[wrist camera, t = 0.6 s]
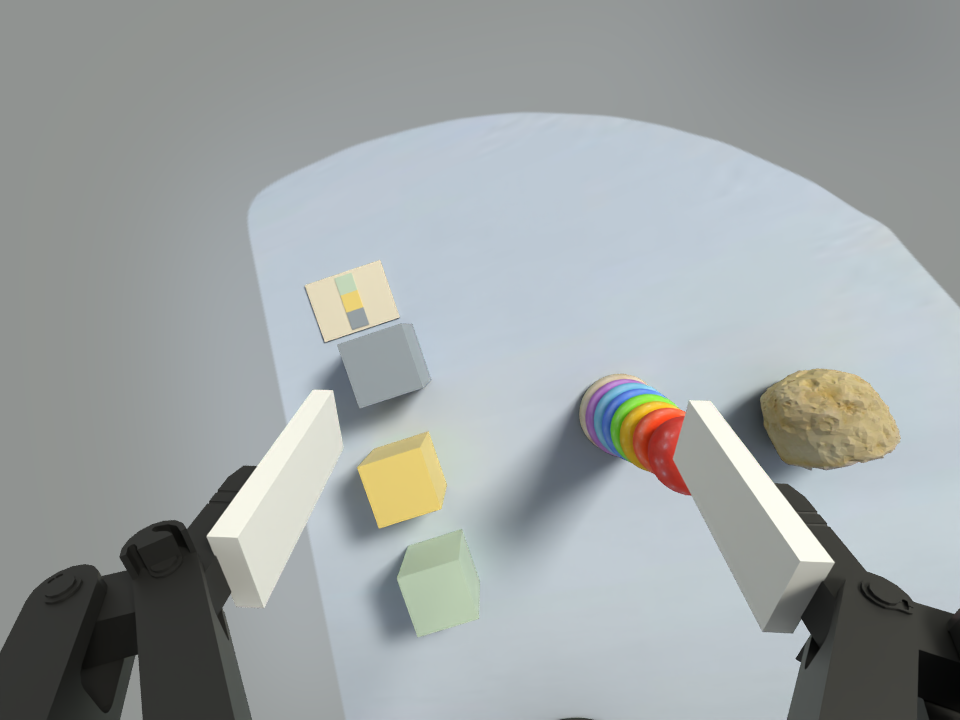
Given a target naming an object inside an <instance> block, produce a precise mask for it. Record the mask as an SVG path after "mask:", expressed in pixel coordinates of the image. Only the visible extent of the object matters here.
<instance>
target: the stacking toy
mask: <svg viewBox="0 0 960 720" xmlns="http://www.w3.org/2000/svg"><path fill="white" fill-rule="evenodd" d="M685 413H686V412H684V411H682V410H680V409H679V408H678V407H677V406H676V405H675V404H674V403H673V402H671V401H670V400H668V399H667V398H666V397H665V396H664V395H662V394H661V393H659V392H658V391H657V390H655V389H654V388H652V387H650V386H649V385H648V384H646V383H645V382H644V381H642V380H641V379H639V378H637V377H635V376H632V375H627V374H613V375H609V376H606V377H603V378H601V379H599V380H598V381H596V382H595V383H594V384H593V385H592V386H591V387H590V388H589V389H588V390H587V391H586V393H585V395H584V397H583V399H582V401H581V405H580V411H579V417H580V423H581V426H582V429H583V431H584V433H585V435H586V436H587V437H588V439H589V440H590V441H591V442H592V443H593V444H594V445H596V446H597V447H599V448H600V449H602V450H603V451H605V452H606V453H608V454H611V455H614V456H618V457H621V458H622V459H624V460H627V461H629V462H631V463H633V464H634V465H635V466H637V467H639V468H641V469H643V470H646V471H649V472H651V473H653V474H655V475H656V477H657V478H658V479H659V480H660V481H661V482H662V483H663V484H664V485H665V486H667V487H668V488H670V489H671V490H673V491H675V492H678V493H681V494H684V495H691V493H690V491H689V489H688V488H687V486H686V484H685V482H684V480H683V478H682V476H681V474H680V472H679V470H678V468H677V466H676V464H675V463H674V461H673V456H674V453H675V449H676V445H677V442H678V438H679V435H680V431H681V428H682V424H683V420H684V417H685ZM691 496H692V495H691Z"/></svg>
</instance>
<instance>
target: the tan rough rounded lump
mask: <svg viewBox="0 0 960 720" xmlns="http://www.w3.org/2000/svg"><path fill="white" fill-rule="evenodd" d="M760 403H761V409H762V413H763V418H764V427H765V429H766V430H767V433H768V435H769V437H770V439H771V441H772V443H773V445H774V446H775V449H776V450H777V453H778V455H779V456H780V458H781V460H782V461H784V462H785V463H786V464H788V465H794V466H799V467H804V468H806V469H809V470H812V468H819V469H823V470H830V469H836V468H841V467H846V466H850V465H853V464H855V463H857V462H861V463H865V462H868V461H871V460H875V459H880V458H884V455H886V454H887V453H891V452H892V451H893V450H894V449H895V447H896V445H897V444H898V443H900V439H901V438H900V435H899V430H898V428H897V426H896V422H895V420H894V419H893V416H892V415H891V414H890V412H889V407H888V406H887V405H886V404H885V403H884V401H883V400H882V399H881V398H880V396H879V394H878V393H877V392H876V391H875V390H874V389H873V388H872V387H871V385H870V383H868V382H866V381H864V380H863V379H861V377H859V376H857V375H854V374H850V373H846V372H841V371H837V370H828V369H811V370H803V371H800V370H799V371H797V372H795V373H793V374H791V375H788V376H787V377H786V378H784V379H783V380H781V381H780V382H777V383H775V384H774V385H773V386H771V387H770V388H767V391H766V392H765V393H764V394H763V395H762V396H761V398H760Z"/></svg>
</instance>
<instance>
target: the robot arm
mask: <svg viewBox="0 0 960 720" xmlns="http://www.w3.org/2000/svg"><path fill="white" fill-rule="evenodd" d="M343 448H344V447H343V442H342V436H341V431H340V425H339V420H338V414H337V409H336V403H335V398H334V393H333V390H312V392H311V393H310V394H309V396H308V397H307V399H306V400H305V401H304V403H303V404H302V405H301V407H300V408H299V410H298V411H297V412H296V414H295V415H294V416H293V418H292V419H291V421H290V422H289V423H288V425H287V426H286V427H285V429H284V430H283V432H282V433H281V434H280V436H279V437H278V439H277V440H276V441H275V443H274V444H273V446H272V447H271V448H270V449H269V451H268V452H267V454H266V455H265V456H264V458H263V459H262V461H261V462H260V463H259V465H258V466H243V467H241V468H240V469H239V470H237V471H236V472H235V473H233V474H232V475H230V476H229V477H228V478H227V479H226V481H225V482H224V483H223V484H222V486H221V487H220V488H219V489H218V493H215V495H214V496H213V497H212V498H211V500H210V501H209V504H207V505H206V506H205V507H204V509H203V510H202V511H201V512H200V514H199V515H198V516H197V517H196V519H195V520H194V521H193V522H192V524H191V525H190V526H189V528H188V529H186V527H185V526H184V524H183V523H181V522H179V521H176V520H171V521H162V522H159V523H155V524H152V525H150V526H148V527H146V528H144V529H142V530H140V531H139V532H137V534H135V535H134V536H133V537H131V538H130V539H129V540H128V541H127V542H126V544H125V545H124V546H123V548H122V550H121V553H120V559H121V561H122V562H123V564H124V566H125V568H126V569H127V571H122V572H118V573H113V574H110V575H105V576H101V575H100V573H99V571H98V570H97V569H96V568H95V567H94V566H92V565H86V564H84V565H78V566H72V567H70V568H67V569H65V570H62V571H60V572H58V573H56V574H54V575H53V576H51V577H49V578H48V579H46V580H45V581H44V582H43V583H41V584H40V585H39V586H38V587H37V588H36V589H34V590H33V592H32V593H31V594H30V596H29V597H28V599H27V600H26V602H25V604H24V606H23V608H22V610H21V612H20V614H19V616H18V618H17V620H16V622H15V624H14V626H13V628H12V630H11V632H10V634H9V636H8V638H7V640H6V642H5V644H4V646H3V648H2V650H1V652H0V720H120V717H121V713H122V709H123V704H124V700H125V695H126V692H127V688H128V684H129V680H130V675H131V671H132V667H133V663H134V659H135V655H138V658H139V671H140V686H141V700H142V714H143V720H252V718H251V714H250V710H249V706H248V702H247V698H246V694H245V691H244V687H243V683H242V679H241V675H240V671H239V667H238V663H237V659H236V656H235V651H234V647H233V644H232V639H231V636H230V632H229V628H228V624H227V620H226V616H225V613H224V611H223V609H222V607H223V606H224V604H225V602H226V600H227V599H228V597H229V595H230V594H231V595H232V598H233V600H234V603H235V605H236V607H251V608H264V607H265V605H266V603H267V601H268V599H269V597H270V595H271V593H272V591H273V589H274V587H275V585H276V583H277V581H278V579H279V577H280V575H281V573H282V571H283V569H284V567H285V565H286V563H287V561H288V559H289V557H290V555H291V553H292V551H293V549H294V547H295V545H296V543H297V541H298V539H299V537H300V535H301V533H302V531H303V529H304V527H305V525H306V523H307V521H308V519H309V517H310V515H311V513H312V511H313V509H314V507H315V505H316V503H317V501H318V499H319V497H320V495H321V493H322V491H323V489H324V487H325V485H326V482H327V480H328V478H329V476H330V474H331V472H332V470H333V468H334V466H335V464H336V462H337V460H338V458H339V456H340V454H341V452H342V450H343ZM673 461H674V463H675V464H676V466H677V468H678V470H679V472H680V474H681V476H682V478H683V480H684V482H685V484H686V486H687V488H688V489H689V491H690V493H691V495H692V497H693V499H694V501H695V503H696V505H697V507H698V509H699V511H700V513H701V515H702V516H703V518H704V520H705V522H706V524H707V526H708V528H709V530H710V532H711V534H712V536H713V538H714V540H715V541H716V543H717V545H718V547H719V549H720V551H721V553H722V555H723V557H724V559H725V561H726V563H727V565H728V567H729V568H730V570H731V572H732V574H733V576H734V578H735V580H736V582H737V584H738V586H739V588H740V590H741V592H742V593H743V595H744V597H745V599H746V601H747V603H748V605H749V607H750V609H751V611H752V613H753V615H754V617H755V619H756V620H757V622H758V624H759V626H760V628H761V630H762V632H775V633H793V632H794V631H795V629H796V627H797V626H798V624H799V622H800V620H801V619H802V621H803V622H804V624H805V625H806V627H807V629H808V630H809V632H810V634H811V635H810V637H809V638H808V640H807V641H806V643H805V645H804V646H803V648H802V649H801V651H800V652H799V654H798V656H797V657H796V660H798V661H800V662H801V665H800V669H799V673H798V677H797V681H796V685H795V689H794V693H793V697H792V701H791V705H790V709H789V713H788V717H787V720H960V609H959V610H958V611H957V612H956V613H955V614H952V613H949V612H946V611H942V610H939V609H935V608H932V607H929V606H925V605H922V604H919V603H915V602H913V601H912V599H911V598H910V597H909V596H908V595H907V594H906V593H905V592H904V591H903V590H901V589H900V588H899V587H898V586H897V585H895V584H893V583H892V582H890V581H888V580H887V579H885V578H883V577H881V576H878V575H875V574H873V573H870V572H867V571H866V570H865V569H864V568H863V567H862V565H861V564H860V563H859V562H858V560H857V559H856V558H855V557H854V556H853V554H852V553H851V552H850V551H849V550H848V548H847V547H846V546H845V545H844V544H843V542H842V541H841V540H840V539H839V537H838V536H837V535H836V534H835V533H834V531H833V530H832V529H831V528H830V527H828V526H827V523H826V522H825V521H824V519H823V518H822V517H821V516H820V514H817V511H816V510H815V508H814V507H813V506H812V505H811V504H810V502H809V501H808V500H807V499H806V498H805V497H804V496H803V495H802V494H800V493H799V492H798V491H796V490H795V489H794V488H792V487H791V486H790V485H788V484H778V483H773V482H772V480H771V479H770V478H769V476H768V475H767V474H766V472H765V471H764V470H763V469H762V467H761V466H760V465H759V463H758V462H757V461H756V459H755V458H754V457H753V456H752V454H751V453H750V452H749V450H748V449H747V448H746V446H745V445H744V444H743V443H742V441H741V440H740V439H739V437H738V436H737V435H736V433H735V432H734V431H733V430H732V428H731V427H730V426H729V424H728V423H727V422H726V421H725V419H724V418H723V417H722V415H721V414H720V413H719V411H718V410H717V409H716V408H715V406H714V405H713V404H712V402H711V401H692V400H689V402H688V406H687V410H686V413H685V417H684V420H683V424H682V428H681V431H680V435H679V438H678V442H677V445H676V449H675V453H674V456H673ZM562 720H592V719H586V718H569V719H562Z"/></svg>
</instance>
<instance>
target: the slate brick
mask: <svg viewBox="0 0 960 720" xmlns="http://www.w3.org/2000/svg"><path fill="white" fill-rule="evenodd" d="M337 346H338V349H339V352H340V355H341V358H342V360H343V363H344V366H345V369H346V372H347V375H348V377H349V380H350V383H351V386H352V389H353V392H354V394H355V397H356V400H357V403H358V406H359V409H360V408H363V407H366V406H369V405H372V404H375V403H378V402H381V401H384V400H388V399H391V398H394V397H397V396H400V395H403V394H406V393H409V392H412V391H415V390H418V389H421V388H424V387H425V386H426V385H427V384H428V383H429V382H430V381H431V377H430V374H429V371H428V368H427V365H426V362H425V360H424V357H423V354H422V351H421V348H420V345H419V342H418V339H417V336H416V333H415V330H414V327H413V324H404V323H401V324H398V325H395V326H392V327H389V328H386V329H383V330H380V331H377V332H374V333H371V334H368V335H365V336H362V337H359V338H356V339H353V340H350V341H347V342H344V343H341V344H338V345H337Z"/></svg>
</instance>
